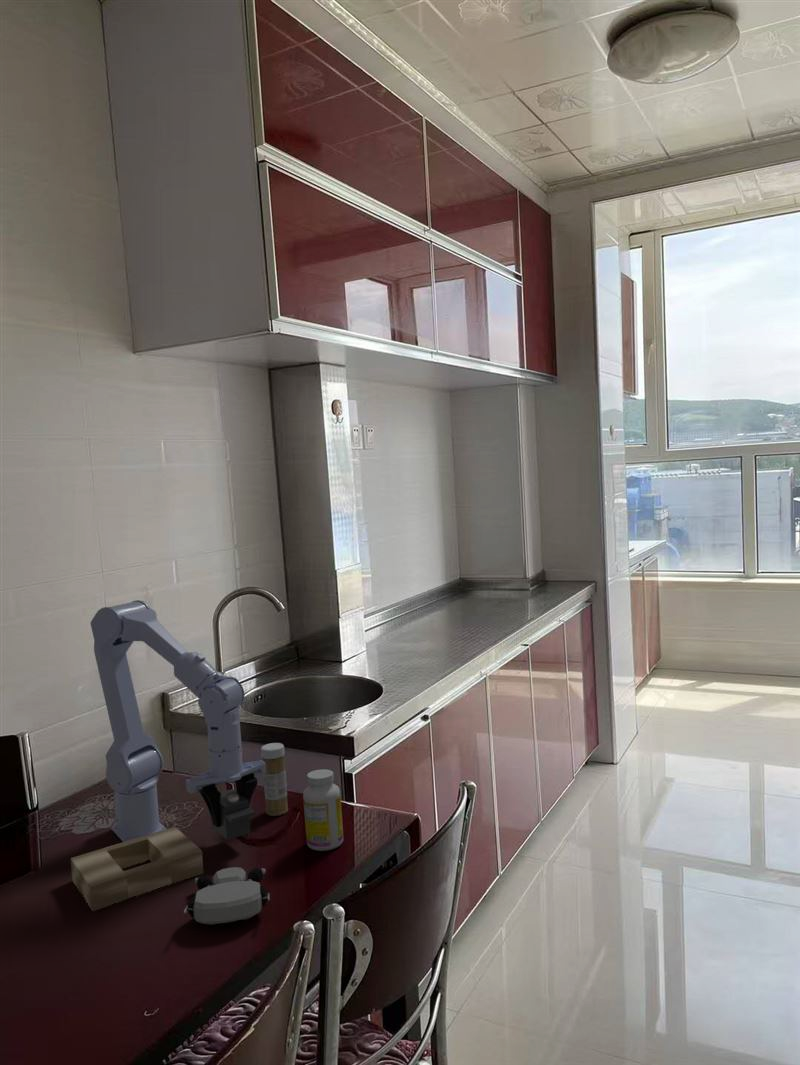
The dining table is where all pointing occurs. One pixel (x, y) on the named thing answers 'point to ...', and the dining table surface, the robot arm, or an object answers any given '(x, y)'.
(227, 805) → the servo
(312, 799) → the supplement bottle
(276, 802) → the sprinkles bottle
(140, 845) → the tan slotted block
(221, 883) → the robot toy
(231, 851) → the dining table surface
